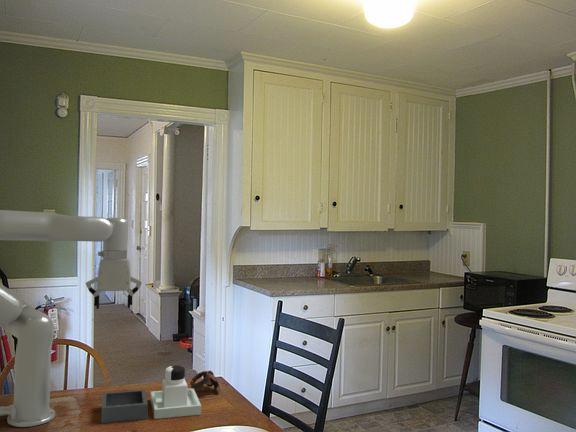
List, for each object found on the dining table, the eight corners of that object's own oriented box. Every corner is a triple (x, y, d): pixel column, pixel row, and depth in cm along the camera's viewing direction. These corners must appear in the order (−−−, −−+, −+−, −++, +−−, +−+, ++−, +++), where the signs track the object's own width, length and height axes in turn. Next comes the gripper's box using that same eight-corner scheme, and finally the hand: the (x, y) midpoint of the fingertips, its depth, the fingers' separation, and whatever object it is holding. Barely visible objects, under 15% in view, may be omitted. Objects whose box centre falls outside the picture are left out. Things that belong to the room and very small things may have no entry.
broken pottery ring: (220, 399, 173) (209, 379, 171) (195, 409, 174) (184, 390, 173) (225, 379, 185) (214, 360, 183) (202, 388, 186) (191, 370, 184)
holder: (101, 423, 149) (101, 408, 149) (102, 407, 162) (102, 392, 161) (147, 419, 153) (147, 404, 153) (144, 403, 166) (145, 389, 166)
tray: (154, 419, 154) (154, 409, 154) (150, 400, 169) (150, 391, 169) (200, 414, 158) (201, 405, 158) (193, 396, 173) (193, 388, 173)
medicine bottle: (183, 399, 168) (184, 363, 168) (187, 407, 161) (188, 369, 161) (161, 401, 166) (162, 364, 165) (163, 409, 159) (165, 371, 159)
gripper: (85, 256, 161) (84, 310, 161) (143, 256, 166) (141, 309, 167) (87, 254, 168) (85, 306, 168) (141, 254, 174) (140, 304, 174)
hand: (113, 307), depth 167 cm, fingers open, 9 cm apart
